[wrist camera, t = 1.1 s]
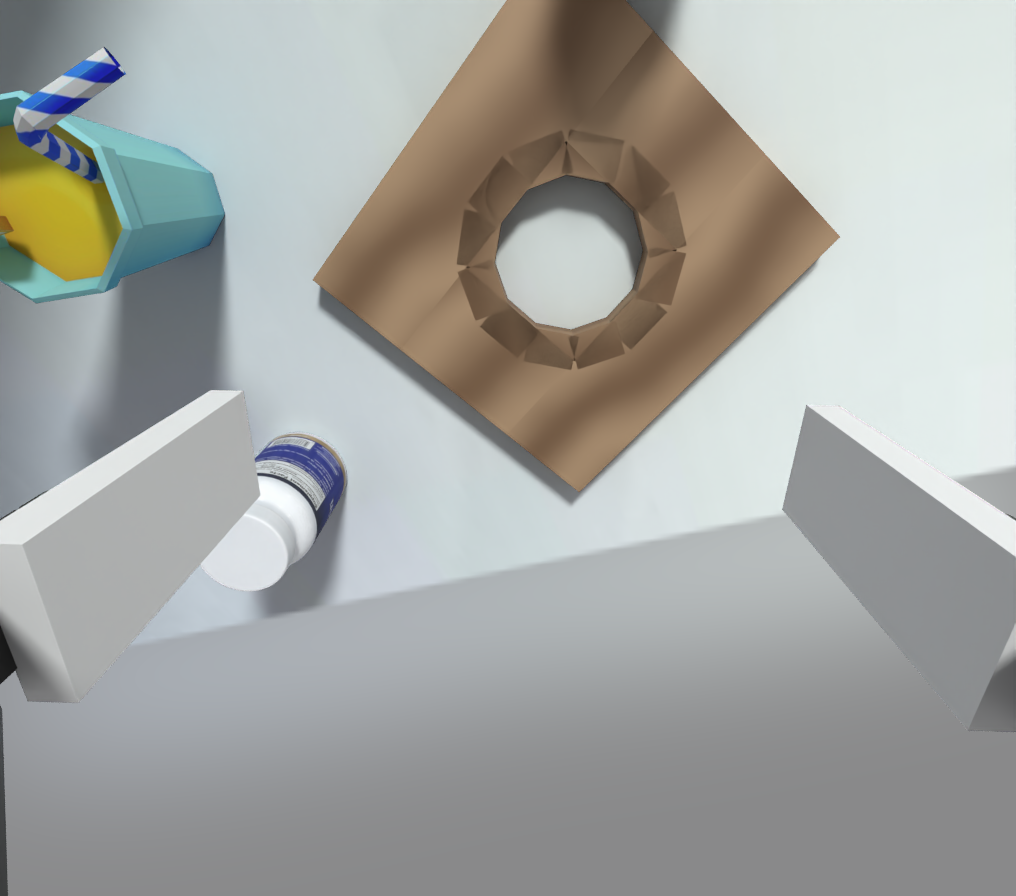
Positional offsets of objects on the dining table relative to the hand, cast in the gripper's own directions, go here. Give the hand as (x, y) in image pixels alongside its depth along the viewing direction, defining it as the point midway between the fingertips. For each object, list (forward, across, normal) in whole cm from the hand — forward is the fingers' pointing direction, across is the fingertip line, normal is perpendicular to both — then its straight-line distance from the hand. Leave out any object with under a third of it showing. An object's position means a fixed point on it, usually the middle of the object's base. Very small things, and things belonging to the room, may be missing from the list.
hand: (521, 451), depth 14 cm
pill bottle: (+22, -14, -11) cm, 28 cm away
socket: (+22, +3, +3) cm, 22 cm away
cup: (+22, -18, +6) cm, 29 cm away
